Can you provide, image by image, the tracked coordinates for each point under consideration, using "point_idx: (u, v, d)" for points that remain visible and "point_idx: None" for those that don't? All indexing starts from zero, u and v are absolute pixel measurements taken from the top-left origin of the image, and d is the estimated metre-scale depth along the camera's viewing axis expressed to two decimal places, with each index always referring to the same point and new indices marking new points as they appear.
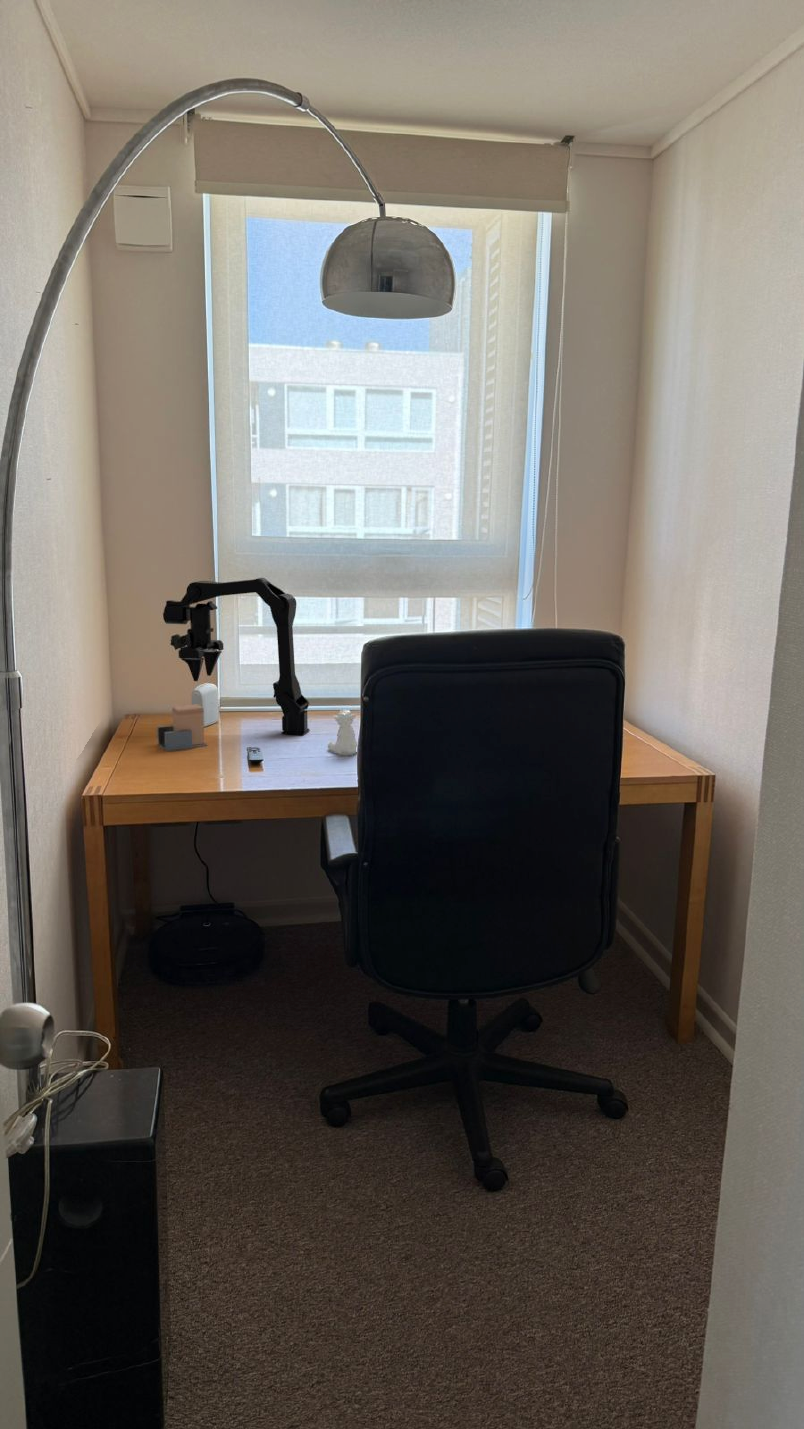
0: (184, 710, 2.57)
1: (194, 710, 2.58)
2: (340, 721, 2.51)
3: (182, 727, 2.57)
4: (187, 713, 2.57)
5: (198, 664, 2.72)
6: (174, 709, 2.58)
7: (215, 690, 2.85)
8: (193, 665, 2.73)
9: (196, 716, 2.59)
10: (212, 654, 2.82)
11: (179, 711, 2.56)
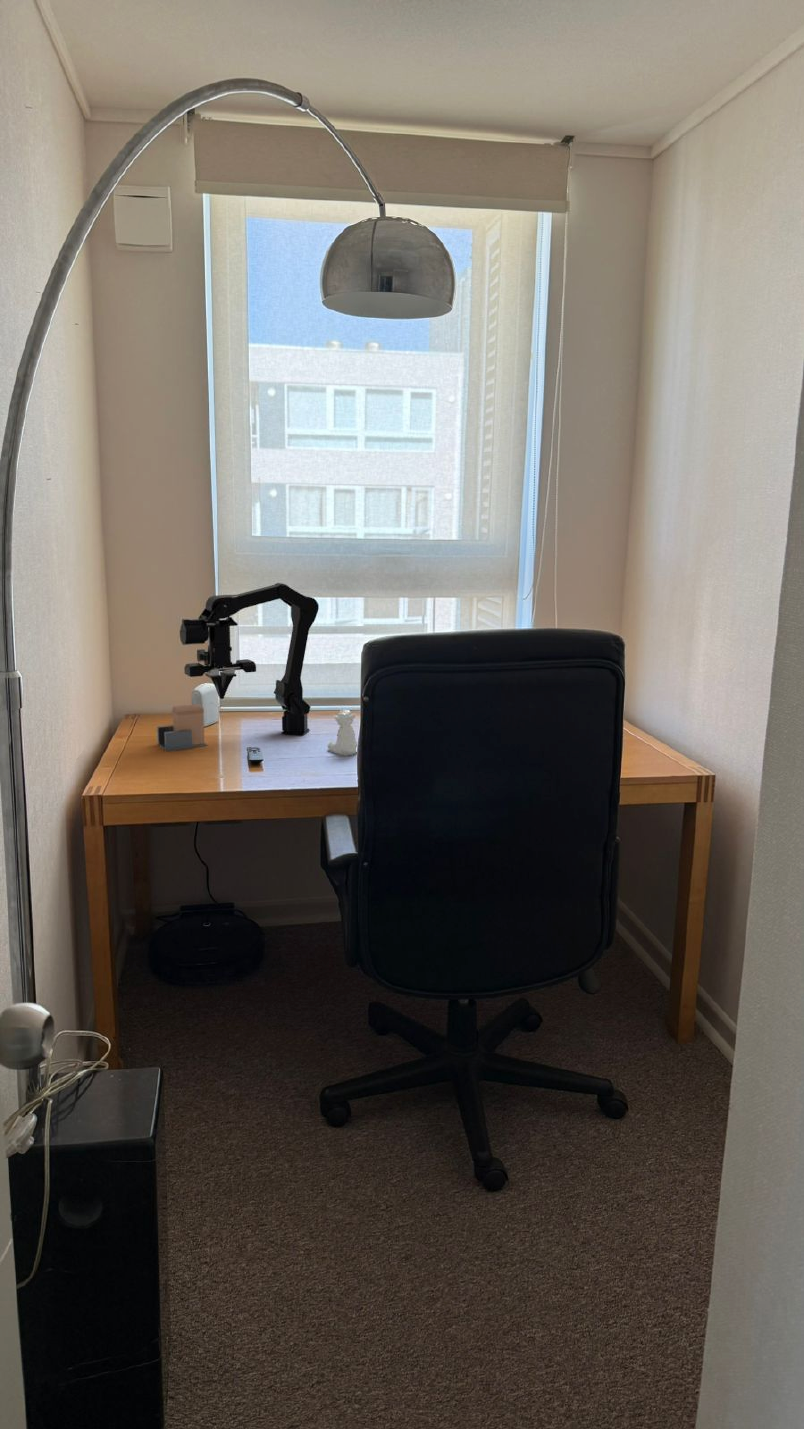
0: (184, 710, 2.57)
1: (194, 710, 2.58)
2: (340, 721, 2.51)
3: (182, 727, 2.57)
4: (187, 713, 2.57)
5: (216, 681, 2.60)
6: (174, 709, 2.58)
7: (215, 690, 2.85)
8: (216, 682, 2.62)
9: (196, 716, 2.59)
10: (224, 676, 2.62)
11: (179, 711, 2.56)
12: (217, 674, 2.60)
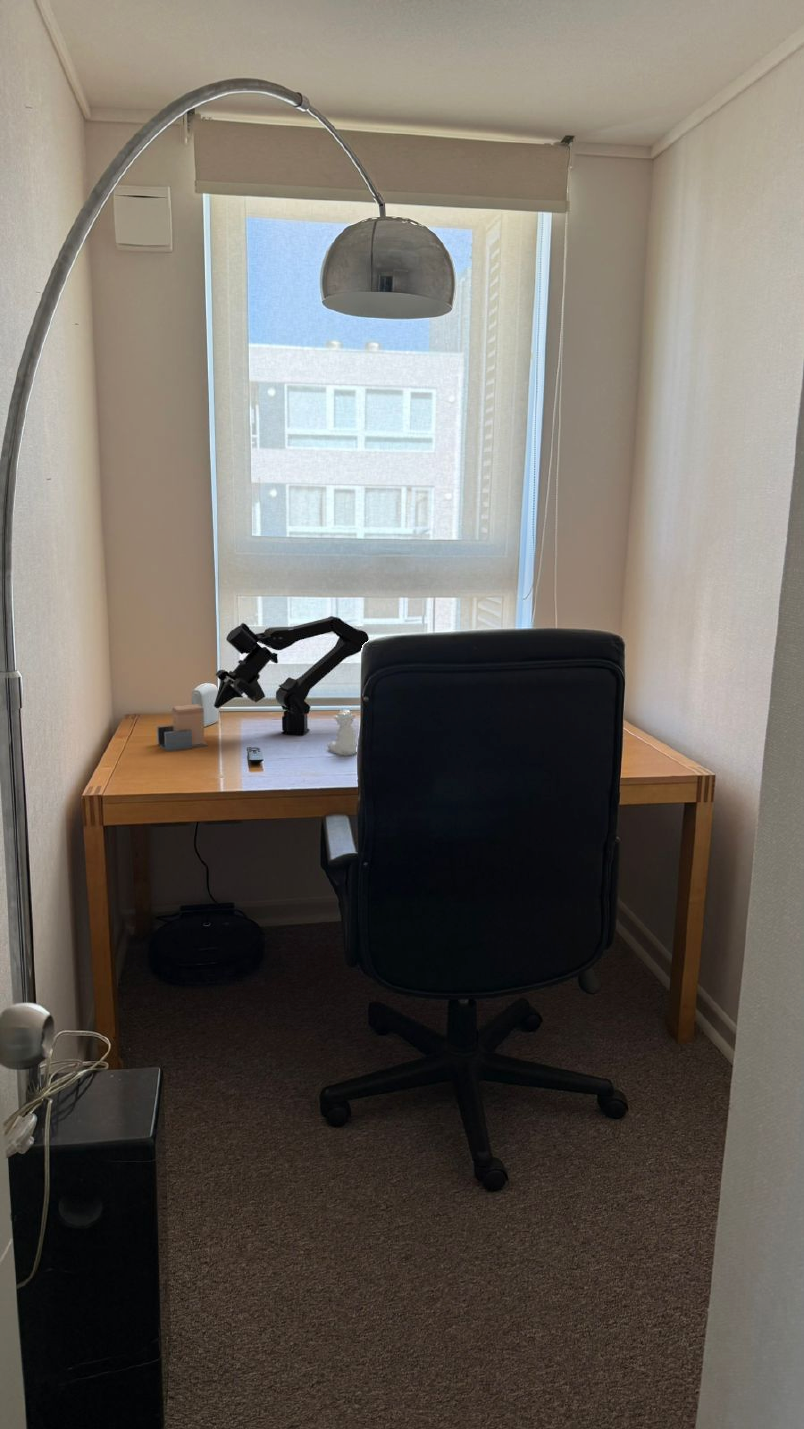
0: (184, 710, 2.57)
1: (194, 710, 2.58)
2: (340, 721, 2.51)
3: (182, 727, 2.57)
4: (187, 713, 2.57)
5: None
6: (174, 709, 2.58)
7: (215, 690, 2.85)
8: None
9: (196, 716, 2.59)
10: None
11: (179, 711, 2.56)
12: (225, 681, 2.65)
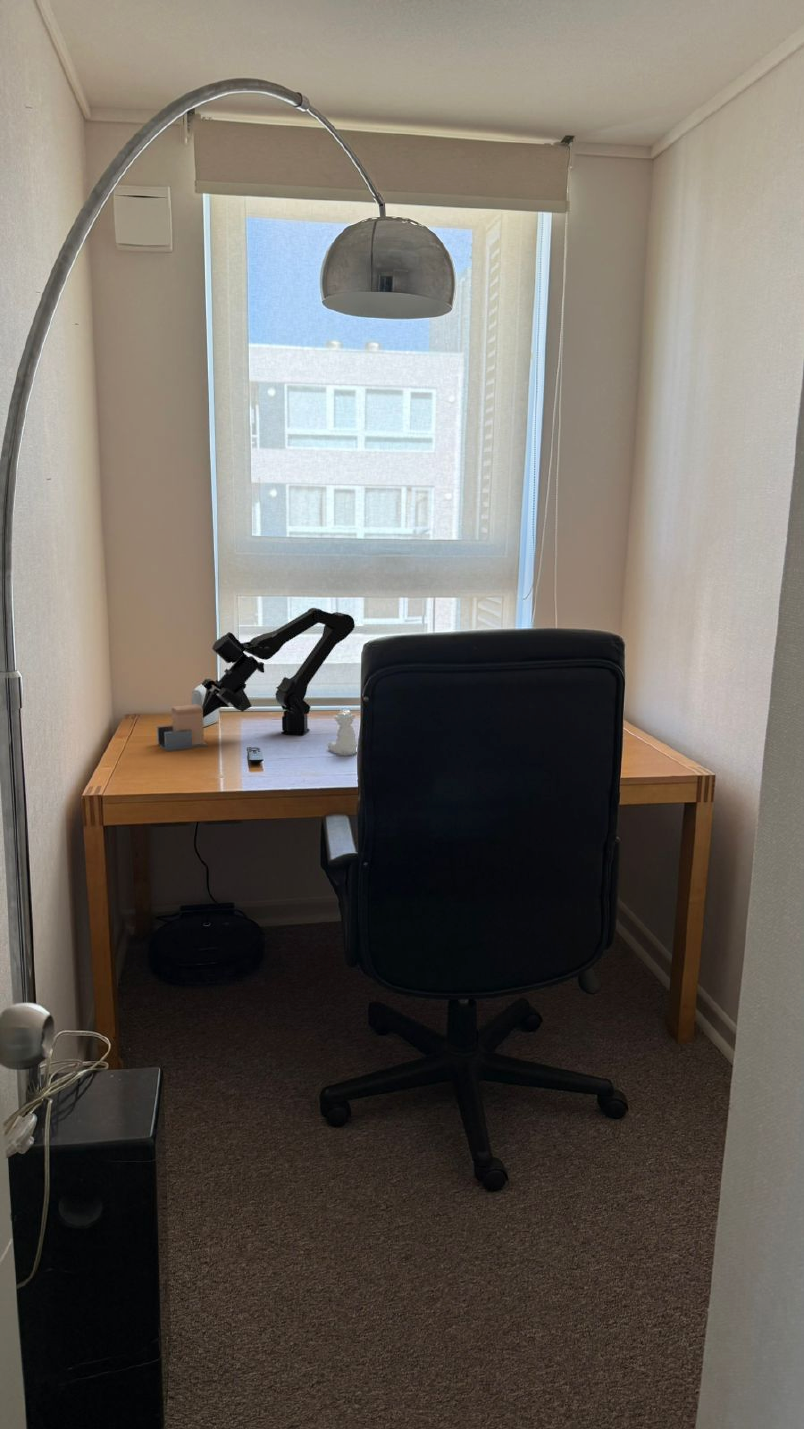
0: (183, 710, 2.57)
1: (194, 710, 2.58)
2: (340, 721, 2.51)
3: (181, 727, 2.57)
4: (186, 713, 2.57)
5: None
6: (173, 709, 2.58)
7: None
8: None
9: (195, 716, 2.59)
10: None
11: (178, 711, 2.56)
12: (211, 690, 2.64)
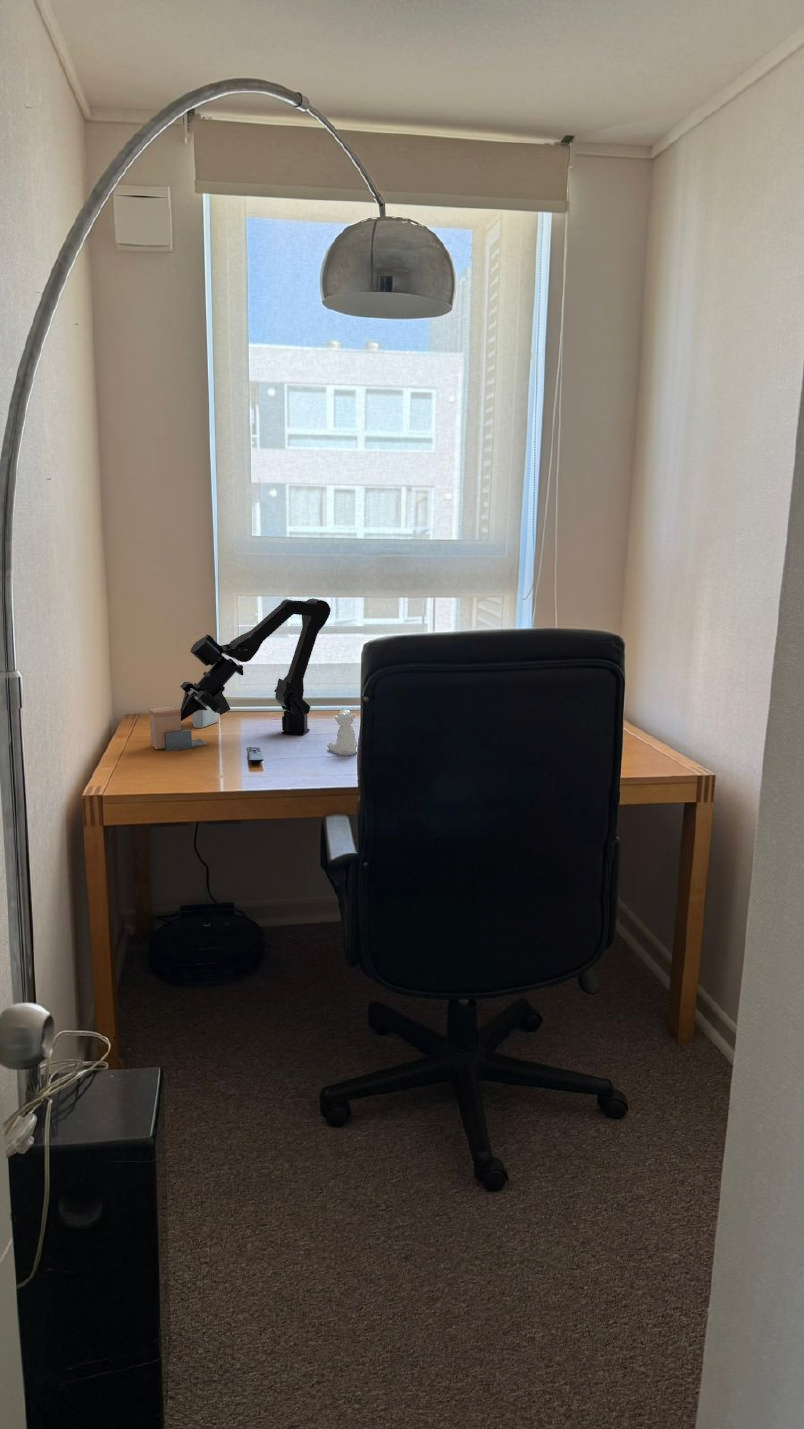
0: (161, 712, 2.54)
1: (171, 712, 2.55)
2: (340, 721, 2.51)
3: (158, 730, 2.54)
4: (164, 715, 2.54)
5: None
6: (151, 711, 2.55)
7: None
8: None
9: (173, 718, 2.56)
10: None
11: (156, 713, 2.53)
12: (189, 693, 2.61)
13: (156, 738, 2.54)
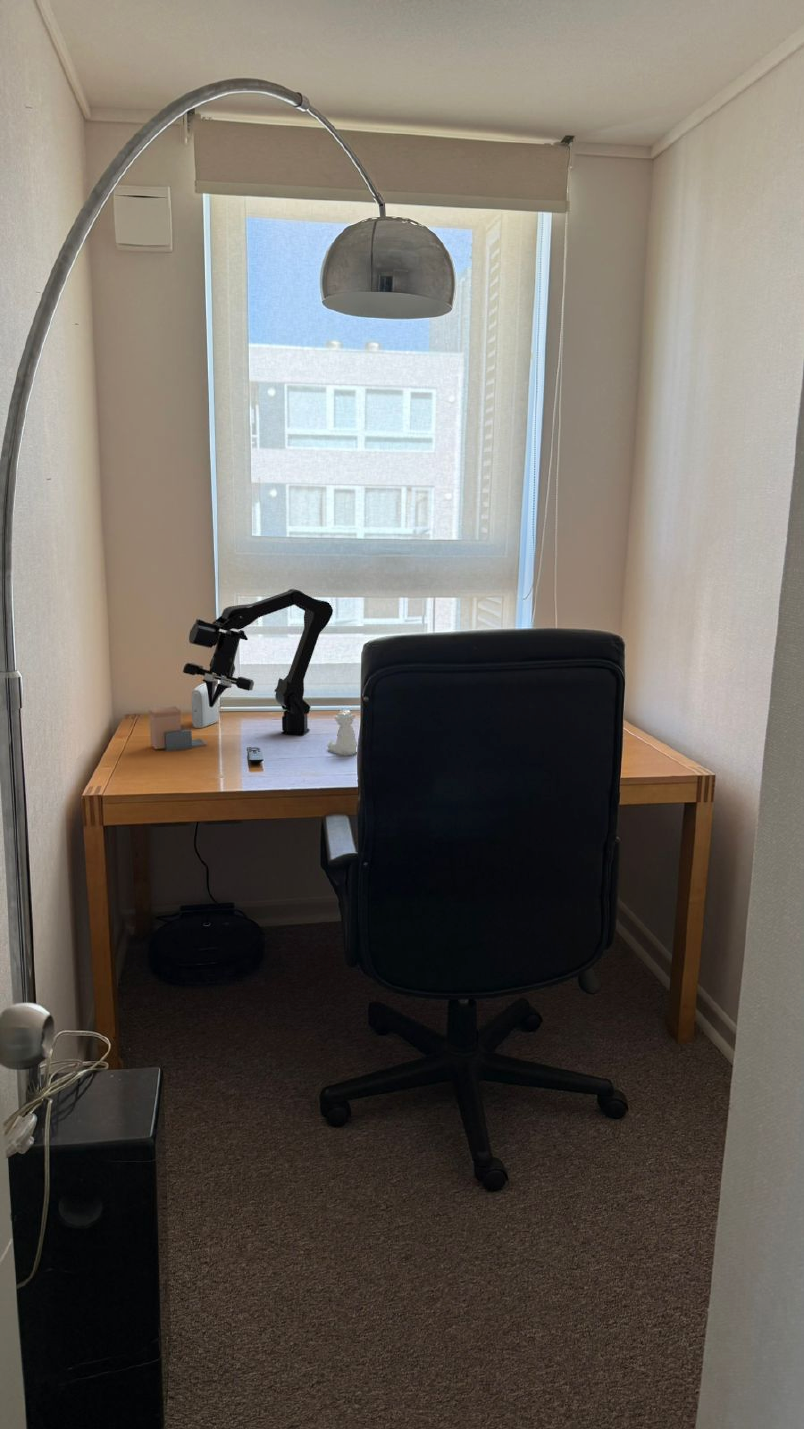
0: (161, 712, 2.54)
1: (171, 712, 2.55)
2: (340, 721, 2.51)
3: (158, 730, 2.54)
4: (164, 715, 2.54)
5: None
6: (151, 711, 2.55)
7: (215, 690, 2.85)
8: None
9: (173, 718, 2.56)
10: None
11: (156, 713, 2.53)
12: (210, 680, 2.60)
13: (156, 738, 2.54)
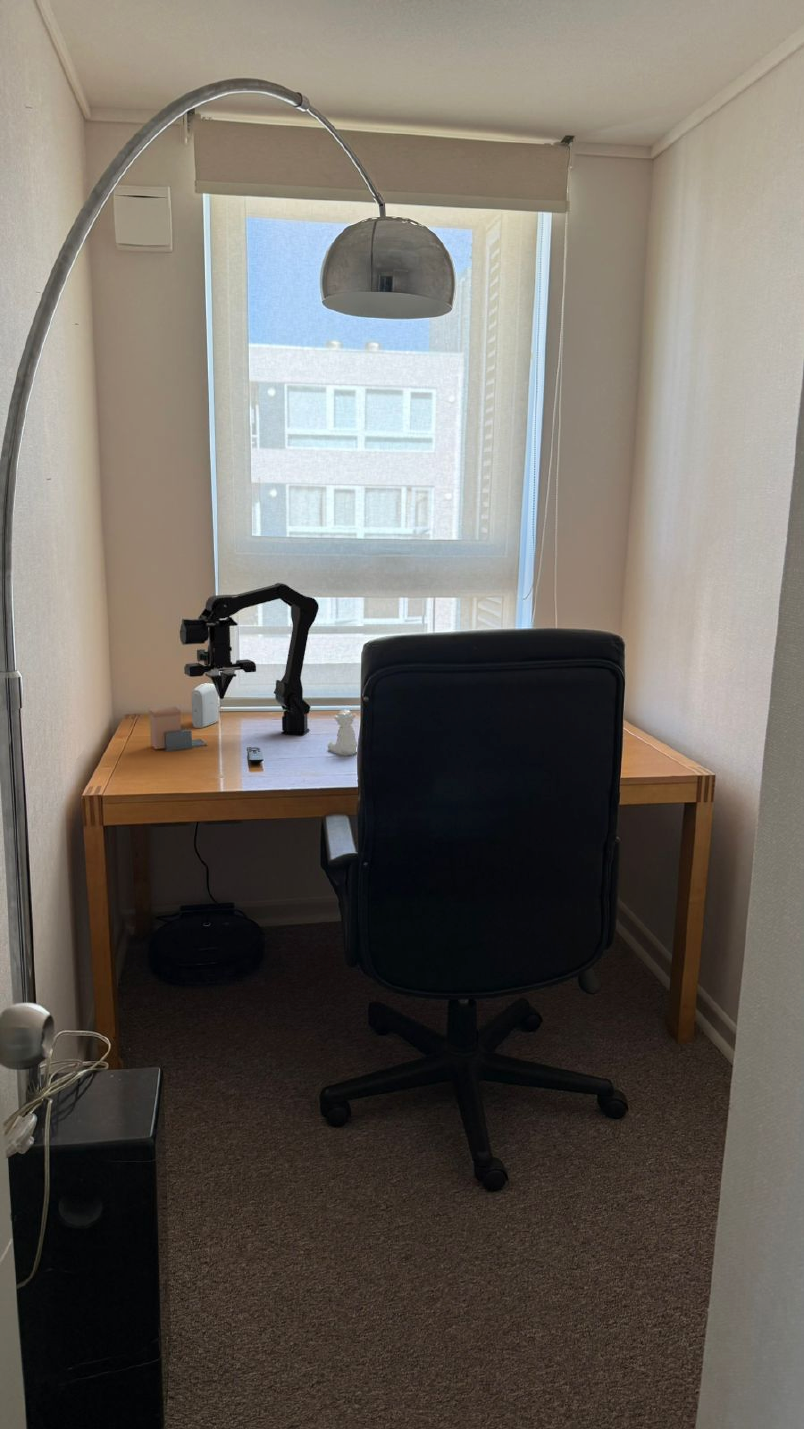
0: (161, 712, 2.54)
1: (171, 712, 2.55)
2: (340, 721, 2.51)
3: (158, 730, 2.54)
4: (164, 715, 2.54)
5: (215, 681, 2.60)
6: (151, 711, 2.55)
7: (215, 690, 2.85)
8: (216, 682, 2.62)
9: (173, 718, 2.56)
10: (224, 676, 2.62)
11: (156, 713, 2.53)
12: (217, 674, 2.60)
13: (156, 738, 2.54)
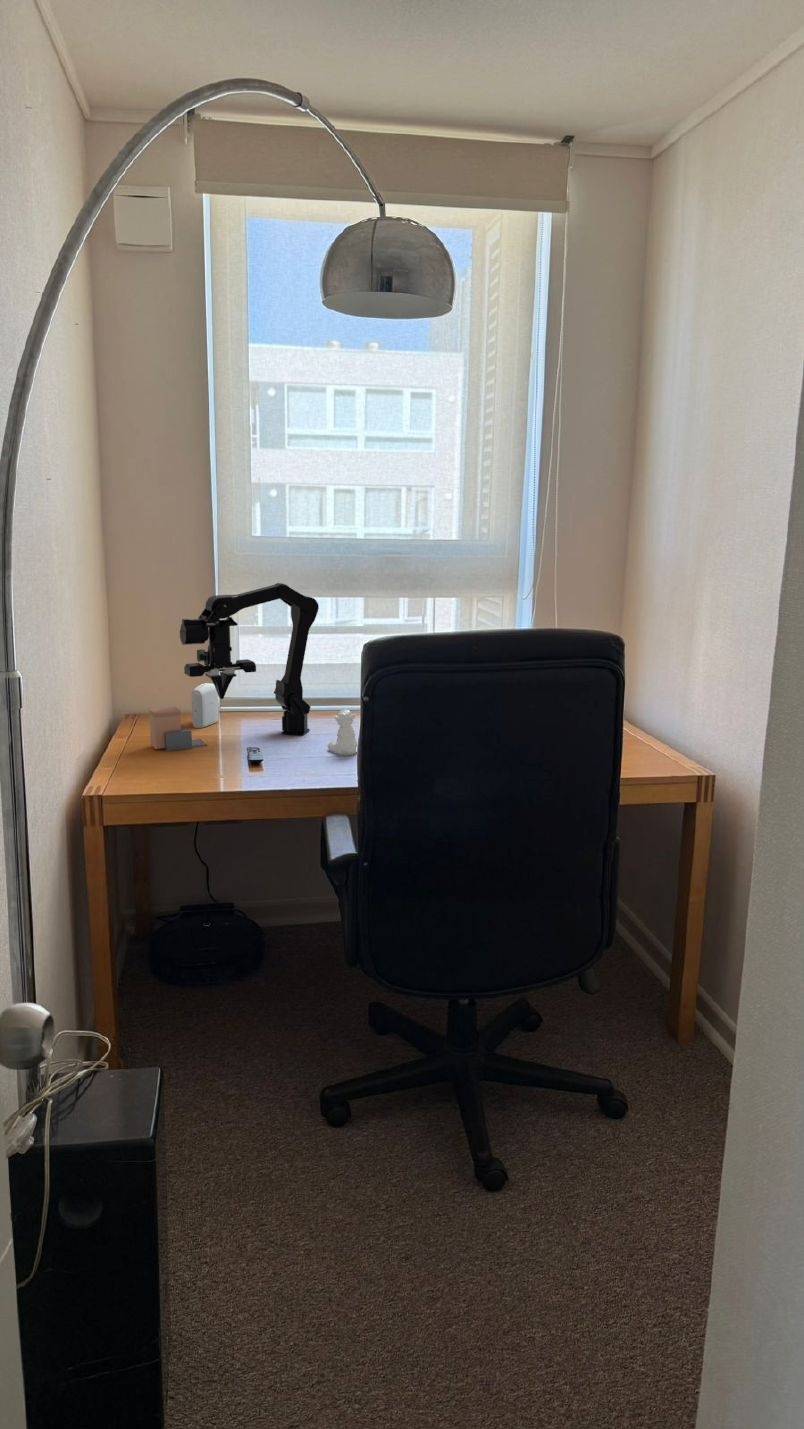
0: (161, 712, 2.54)
1: (171, 712, 2.55)
2: (340, 721, 2.51)
3: (158, 730, 2.54)
4: (164, 715, 2.54)
5: (215, 681, 2.60)
6: (151, 711, 2.55)
7: (215, 690, 2.85)
8: (216, 682, 2.62)
9: (173, 718, 2.56)
10: (224, 676, 2.62)
11: (156, 713, 2.53)
12: (217, 674, 2.60)
13: (156, 738, 2.54)
